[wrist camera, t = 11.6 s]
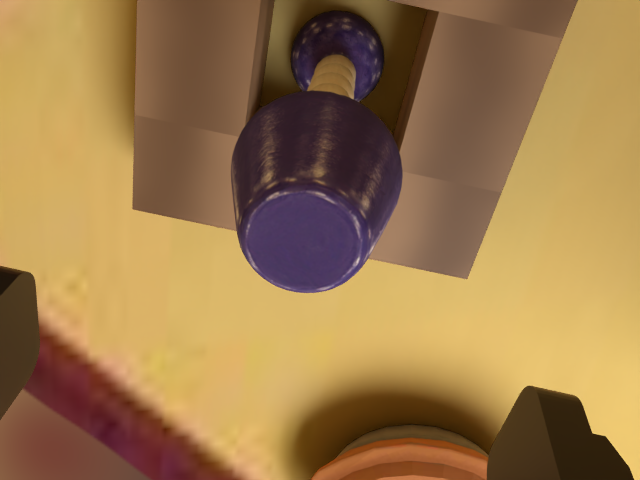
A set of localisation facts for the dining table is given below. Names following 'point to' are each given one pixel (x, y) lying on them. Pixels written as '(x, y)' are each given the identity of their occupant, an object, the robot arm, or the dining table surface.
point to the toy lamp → (318, 163)
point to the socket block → (410, 134)
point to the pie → (408, 456)
